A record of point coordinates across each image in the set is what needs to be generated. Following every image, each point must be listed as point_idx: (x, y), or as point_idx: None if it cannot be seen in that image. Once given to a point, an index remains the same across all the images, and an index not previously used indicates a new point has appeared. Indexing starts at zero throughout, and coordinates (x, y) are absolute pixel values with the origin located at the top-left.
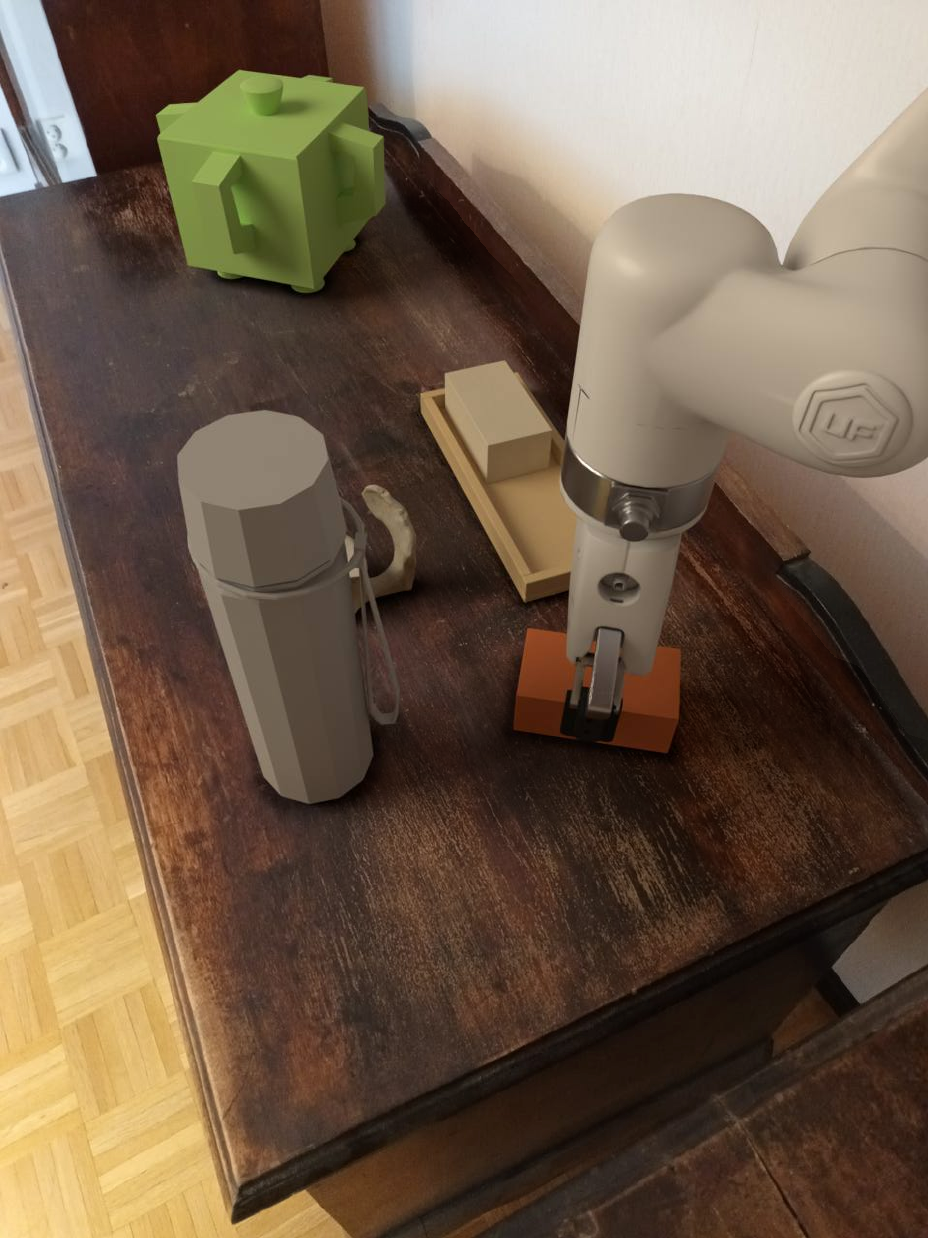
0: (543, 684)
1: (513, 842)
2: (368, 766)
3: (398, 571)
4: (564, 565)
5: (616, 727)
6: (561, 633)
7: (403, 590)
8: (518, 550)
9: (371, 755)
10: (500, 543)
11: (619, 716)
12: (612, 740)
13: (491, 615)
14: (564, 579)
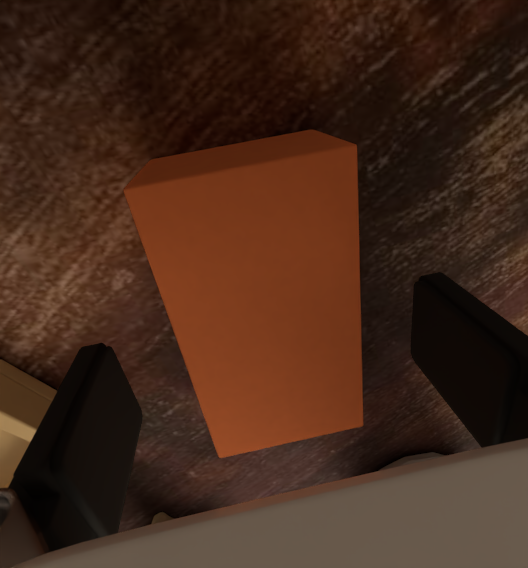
0: (333, 404)
1: (492, 302)
2: (424, 459)
3: None
4: (6, 430)
5: (473, 296)
6: (206, 417)
7: (169, 516)
8: None
9: None
10: None
11: (508, 322)
12: (440, 272)
13: (152, 438)
14: (31, 409)
